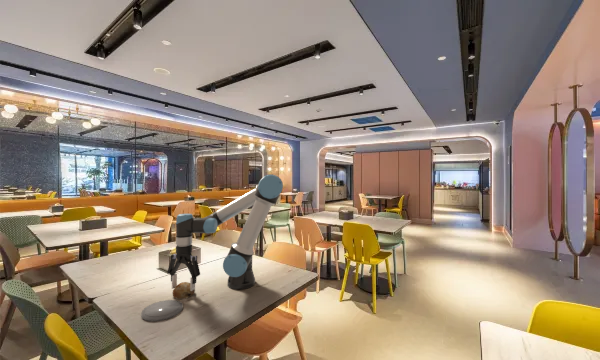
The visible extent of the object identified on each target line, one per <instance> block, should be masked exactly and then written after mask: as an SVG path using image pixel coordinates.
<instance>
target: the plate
mask: <svg viewBox="0 0 600 360" xmlns="http://www.w3.org/2000/svg"><path fill="white" fill-rule="evenodd" d="M183 308H184V305H183V302H182V301H180V300H178V299H177V300H176V299H168V300H167V299H165V300H160V301H157V302H154V303H151V304H149V305H147V306H146V307H145V308H143V309H142V311H141V315H140V316H141V319H142V320H144V321H147V322H160V321H164V320H168V319H171V318H174V317H175V316H177V315H178V314H180V313H181V312H183Z"/></svg>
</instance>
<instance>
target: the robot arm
mask: <svg viewBox="0 0 600 360" xmlns="http://www.w3.org/2000/svg"><path fill="white" fill-rule="evenodd" d="M283 188H284V184H283V180H282V179H281V178H280V177H279V176H278V175H276V174H267V175H264V176H263V177H262V178H261V179H260V180H259V182H258V184H257V185H255V188H253V189H252V190H250V191H249V192H246V193H245V194H243V195H242V196H239V197H238V198H236V199H234V200H232V201H231V202H230V203H228V204H227V205H225V206H222V208H219V209H218V210H216V211H214V212H213V213H211V214H209V215H207V216H205V217H194V215H193V213H179V214H177V216H176V220H175V221H176V222H175V225H176V226H175V245H176V246H175V253H173V254H171V255H170V261H169V265H168V268H167V272H166V273H167V274H168V275H170V282H171V290H174V289H175V287H176V286H177V285H178V273H177V271H178V270H179V269H180V266H181V264H184V265H185V266H186V267H187V269H188V271H189V274H190V276H191V277H190V279H189V281H190V282H189V283H190V291H193V290H194V289H195V290H196V283H197V277H199V276H200V275H201V271H200V267H199V262H198V255H192V252H193V234H215V233H216V232H217V229H218V227H219V226H220V225H223V224H224V223H225V222H227V221H229V220H231V219H232V218H234V217H236V216H237V215H239V214H241V213H242V212H244V211H246V210H247V209H249V208H251V207H252V208H251V210H250V211H249V214H248V215H247V218H246V221H245V223H244V225H243V227H242V230H241V232H240V234H239V237H238V238H237V240H236V242H232V243H231V247H230V249H229V251H228V253H227V255H226V256H225V257H224V259H223V263H222V268H223V269H222V270H223V271H224V273H225V274H226V275H227V276H228V278H227V287H228V288H229V289H232V290H246V289H249V288H252V287H253V286H255V284H256V277H255V274H254V271H253V255H254V253H255V252H254V250H253V249H254V246H255V244H256V242H257V239H258V237H259V235H260V232H261V231H262V229H263V226H264V224H265V222H266V218H267V217H268V215H269V213H270V210H271V208H272V206H275V205H276V204H277V202H278V200H279V197H280V196H281V193H282V191H283Z"/></svg>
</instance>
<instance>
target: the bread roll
mask: <svg viewBox="0 0 600 360" xmlns="http://www.w3.org/2000/svg"><path fill="white" fill-rule="evenodd" d="M195 291H196V288H195V289H194V290H193V291H190V282H189V281H183V282H181V283H179V284H178V283H177V286H176V287H175V288H174V289H172V297H173V298H174V299H177V300H184V299H188V298H191V297H192V296H193V295H195Z"/></svg>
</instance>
